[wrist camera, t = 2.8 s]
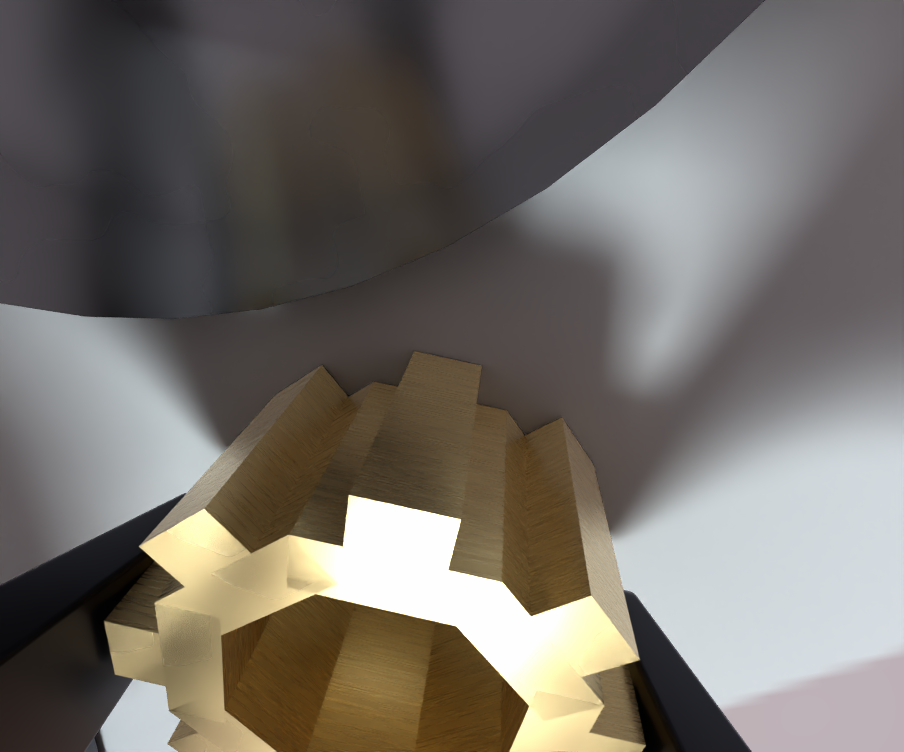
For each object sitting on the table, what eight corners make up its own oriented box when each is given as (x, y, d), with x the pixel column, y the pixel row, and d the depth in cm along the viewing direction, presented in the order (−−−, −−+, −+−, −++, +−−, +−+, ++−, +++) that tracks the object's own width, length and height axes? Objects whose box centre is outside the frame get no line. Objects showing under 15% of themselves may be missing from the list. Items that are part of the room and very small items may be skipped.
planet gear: (543, 666, 11) (555, 879, 8) (243, 597, 11) (138, 781, 8) (658, 403, 8) (753, 585, 5) (240, 313, 8) (64, 431, 5)
